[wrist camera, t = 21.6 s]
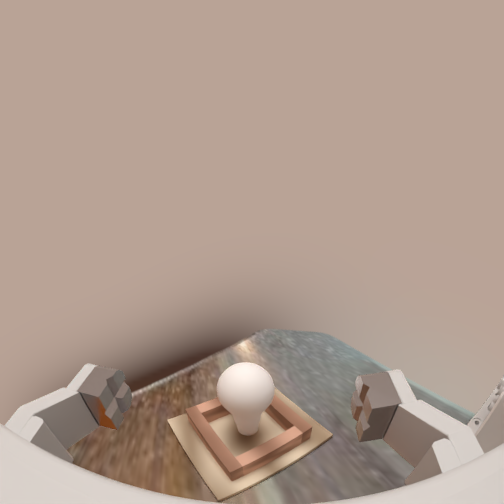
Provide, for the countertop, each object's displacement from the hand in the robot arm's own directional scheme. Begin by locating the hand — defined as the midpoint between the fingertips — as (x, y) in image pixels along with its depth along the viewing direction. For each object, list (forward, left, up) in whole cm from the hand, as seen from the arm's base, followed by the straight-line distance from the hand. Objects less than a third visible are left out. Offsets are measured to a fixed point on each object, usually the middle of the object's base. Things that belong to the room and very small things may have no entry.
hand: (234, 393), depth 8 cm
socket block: (-8, -13, -23) cm, 28 cm away
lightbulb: (-8, -13, -23) cm, 28 cm away
